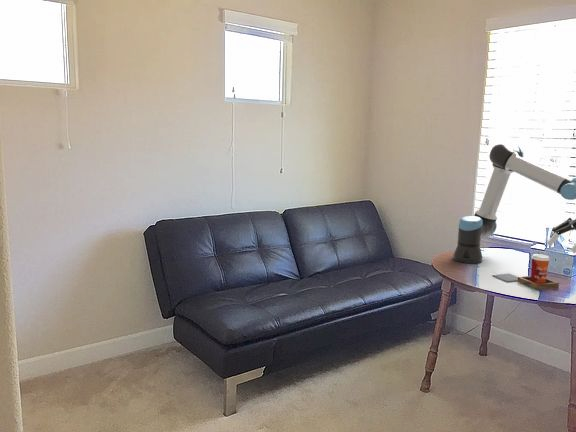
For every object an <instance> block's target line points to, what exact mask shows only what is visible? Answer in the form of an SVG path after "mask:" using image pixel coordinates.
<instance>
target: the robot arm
mask: <svg viewBox="0 0 576 432" xmlns="http://www.w3.org/2000/svg"><path fill="white" fill-rule="evenodd" d="M488 154H489V155H488V157H489V160H490V162H491V163H492V164H491V165H492V168H493V170H492V171H493V172H492V173H491V176H490V179H489V182H488V185H487V188H486V190H485V193H484V196H483V199H482V201H481V204H480V207H479V209H477V210H476V211H475V212H474V215H468V216H467V215H466V216H463V217H461V218H460V219H459V223H458V232H457V234H458V236H457V244H456V246H455V250H454V252H453V255H452V259H453V260H454V261H456V262H458V261H459V263H463V264H473V265H474V264H481V263H483V254H482V250H481V249H482V248H481V244H482V243H481V242H482V239H484V238H488V237H490V236H492V235H494V233H495V232H496V229H497V225H498V224H497V220H498V217H497V215H496V214H497V211H498V209H499V205H500V204H501V201H502V198H503V195H504V192H505V190H506V187H507V184H508V182H509V178H510V176H511V174H512V173H517V174H518V175H520V176H522V177H525V178H526V179H528V180H531V181H533V182H534V183H537V184H538V185H541V186H543V187H545V188H547V189H549V190H551V191H553V192H554V193H557V194H559V195H560V196H561V197H562V198H563V199H565V200H569V201H572V200H573V201H574V200H576V177H573V178H572V179H568V178H566V177H563V176H562V175H560V174H558V173H555V172H553V171H551V170H549V169H547V168H545V167H543V166H541V165H538V164H537V163H534V162H532V161H530V160H528V159H526V158H524V150H523V148H522V147H521V145H519V144H517V143H514V142H506V143H505V142H504V143H503V142H502V143H497V144H494V146H492V147H491V149H490V151H489V153H488ZM551 230H552V232H553V233H552V234H551V236H550V237H549V238H548V240H547V242H546V244H547V245H548V246H549V247H552V246H553V244H555V242H556V241H557V240H558V238H560V235H562V234H564V233H567V232H570V231H573V230H575V231H576V218H575V219H572V218H571V217H569V218H567V219H566V220H565V221H564V222H562V223H560V224H558V225H556V226H555V227H554V228H552V229H551ZM570 250H571V252H572V253H573V254H576V243H575V244H573V246H572V247H571V249H570Z"/></svg>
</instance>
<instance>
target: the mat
mask: <svg viewBox="0 0 576 432" xmlns="http://www.w3.org/2000/svg"><path fill="white" fill-rule="evenodd" d="M491 276H492V277H494V278H496V279H498V280H500V281H502V282H505V283H513V282H517V281H518V277H519V276H517V275H514V274H512V273H499V274H497V273H496V274H492V275H491Z"/></svg>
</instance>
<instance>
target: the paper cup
mask: <svg viewBox="0 0 576 432" xmlns="http://www.w3.org/2000/svg"><path fill="white" fill-rule="evenodd" d="M549 264H550V256H549V255H547V254H541V253H534V254H533V253H532V256H531V267H530V268H531V270H530V271H531V272H530V276H531V282H534V283H536V284H545V280H546V278H547V274H548V269H549V268H548V267H549Z"/></svg>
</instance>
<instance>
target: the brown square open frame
mask: <svg viewBox="0 0 576 432" xmlns="http://www.w3.org/2000/svg"><path fill="white" fill-rule="evenodd" d="M517 277H518V281H516V282H517V283H518V284H521V285H523V286H526V287H529V288H531V289H533V290H535V291H544V290H545V291H546V290H553V289H554V290H555V289H559V286H560V282H558V281H554V280H552V279H549V278H547V277H546V280H545V284H536V283H534V282H531V275H525V276H517Z"/></svg>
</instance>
